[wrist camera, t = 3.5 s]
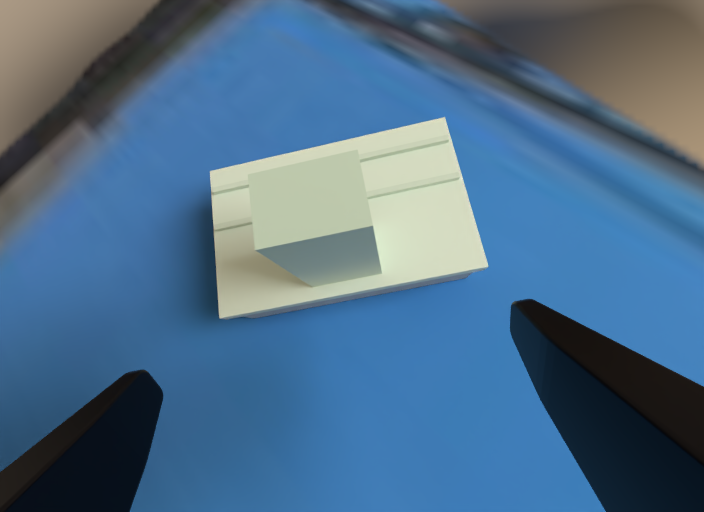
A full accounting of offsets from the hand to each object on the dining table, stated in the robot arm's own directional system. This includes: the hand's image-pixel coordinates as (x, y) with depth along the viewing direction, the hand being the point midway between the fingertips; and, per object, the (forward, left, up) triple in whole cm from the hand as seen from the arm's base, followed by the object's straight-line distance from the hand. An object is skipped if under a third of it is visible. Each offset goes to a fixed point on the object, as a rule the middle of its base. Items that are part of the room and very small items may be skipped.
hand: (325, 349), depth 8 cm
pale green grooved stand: (+3, +6, -8) cm, 11 cm away
